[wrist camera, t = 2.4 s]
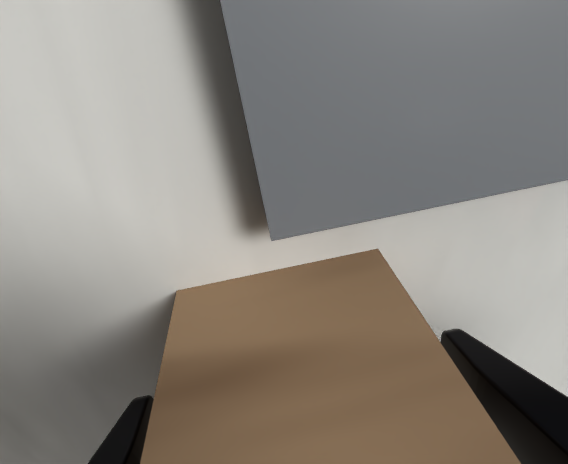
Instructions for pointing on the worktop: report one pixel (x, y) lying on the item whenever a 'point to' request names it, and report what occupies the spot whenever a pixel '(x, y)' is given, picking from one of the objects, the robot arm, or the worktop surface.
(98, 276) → the worktop surface
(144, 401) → the robot arm
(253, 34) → the baseplate
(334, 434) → the brown wooden cube
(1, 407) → the worktop surface
